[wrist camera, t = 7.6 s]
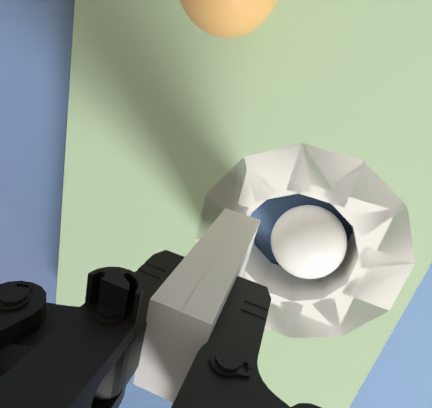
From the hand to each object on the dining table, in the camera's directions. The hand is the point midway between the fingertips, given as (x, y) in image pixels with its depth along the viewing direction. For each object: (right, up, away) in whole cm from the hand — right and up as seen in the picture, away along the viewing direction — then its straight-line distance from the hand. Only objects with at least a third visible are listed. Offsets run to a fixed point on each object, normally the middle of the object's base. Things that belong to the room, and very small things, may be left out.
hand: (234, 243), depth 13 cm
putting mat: (0, +2, +4) cm, 4 cm away
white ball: (+4, 0, +2) cm, 4 cm away
